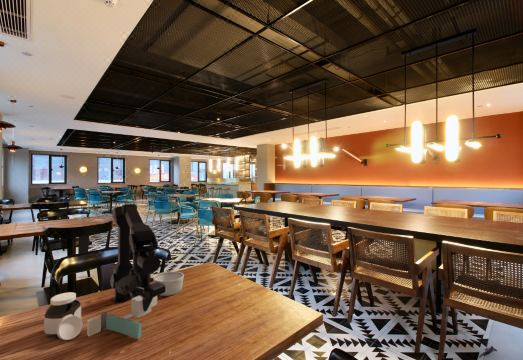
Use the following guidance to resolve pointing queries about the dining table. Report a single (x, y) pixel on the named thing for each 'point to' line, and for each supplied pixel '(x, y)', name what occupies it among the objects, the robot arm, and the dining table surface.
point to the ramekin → (170, 282)
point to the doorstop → (138, 307)
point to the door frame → (99, 321)
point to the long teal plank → (123, 326)
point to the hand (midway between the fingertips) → (141, 309)
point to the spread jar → (63, 317)
